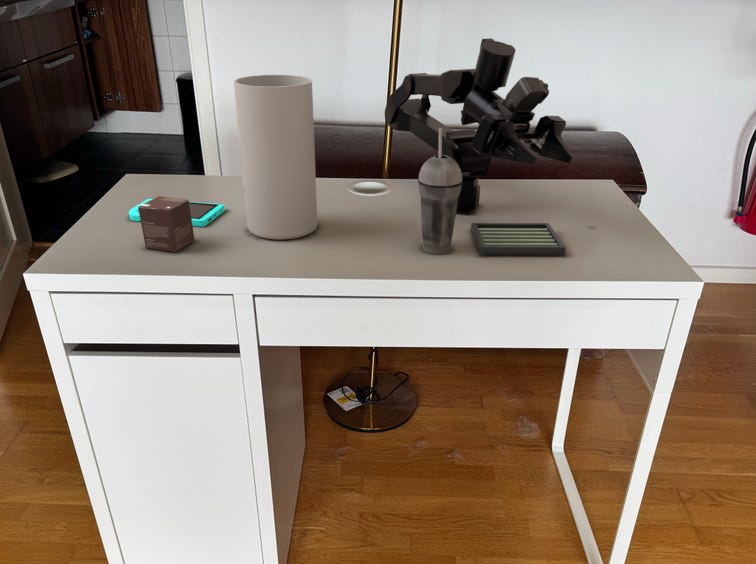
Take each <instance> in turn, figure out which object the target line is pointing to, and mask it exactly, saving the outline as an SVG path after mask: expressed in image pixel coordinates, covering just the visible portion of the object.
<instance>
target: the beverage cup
mask: <svg viewBox="0 0 756 564" xmlns="http://www.w3.org/2000/svg"><path fill="white" fill-rule="evenodd" d="M417 183H418V192H419V196H420V219H421V240H422V250H423V251H424V252H425V253H428V254H432V255H443V254H446V253H448V252H450V251H451V246H452V242H453V241H452V240H453V235H454V228H455V221H456V216H457V213H456V209H457V203H458V196H459V195H460V191H461V186H462V184H463V181H462V173H461V170H460V168H459V165H458V164H457V162H456V161H455V160H454V159H452V158H451V157H449V156H446V155H442V128H439V152H438V154H436V155H434V156H431V157H430V158H427V160H426V161H425V162H424V163H423V164H422V166H421V168H420V170H419V173H418V178H417Z"/></svg>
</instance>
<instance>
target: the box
mask: <svg viewBox="0 0 756 564" xmlns="http://www.w3.org/2000/svg"><path fill="white" fill-rule="evenodd" d="M151 199H152V200H150V201H148V202H146V203H144V204H142V205H140V206H139V207H138V210H139V216H140V220H141V221H140V225H141V230H142V235H143V240H144V241H143V242H144V246H145V249H150V250H159V251H167V252H173V253H178V251H180V250H182V249H184V248H185V247H187V246H188V245H190V244H191V243H193V242H194V241H195V240H196V239H195V234H194V226H193V225H192V219H191V212H190V206H189V202H190V200H189V199H185V198H178V197H177V198H176V197H169V196H160V195H158V196H156V197H154V198H151Z"/></svg>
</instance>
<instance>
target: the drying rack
mask: <svg viewBox="0 0 756 564" xmlns="http://www.w3.org/2000/svg"><path fill="white" fill-rule="evenodd" d="M470 225H471V226H470V232H471V235H472V237H473V240H474V243H475V245H476V248H477V250H478V253H479V256H480V257H565V255H566V249H567V247H566V245H565V243H563V240H561V239H560V237H559V235H558V233H556V231H555V230H554V228H553V226H552V225H551V224H550V223H549V222H471V224H470Z"/></svg>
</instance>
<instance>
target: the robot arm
mask: <svg viewBox="0 0 756 564" xmlns="http://www.w3.org/2000/svg"><path fill="white" fill-rule="evenodd" d="M515 55H516V48H515V46H513V45H511V44H508V43H506V42H502V41H498V40H495V39H493V38H492V37H491V38H490V37H489V38H481V41H480V46H479V53H478V56H477V61H476V64H475V68H464V69H450V70H447V71H444V72H442V73H441V74H434V73H433V74H431V73H430V74H429V73H427V72H417V73H408V74H407V75H405V76H404V77H403V81H402V82H401V84H400V85H399V86H398V87H397V88H396V89H395V90H394V91H393V92H392V93H391V94H390V96H389V98H388V100H387V102H386V106H385V108H384V119H385V122H386V124H387V125H388V127H389V128H390V129H392V130H394V131H398V132H407V133H408V132H409V133H411V134H413V135H414V136H416V137H417V138H419V139H420V140H421V141H423V142H424V143H425V144H427V146H430V148H432V149H433V150H435V151H436V152H438V153H439V128H442V155H446V156H449V157H451V158H452V159H454V160H455V161H456V162H457V164H458V165H459V168H460V170H461V173H462V181H463V184H462V186H461V191H460V195H459V196H458V203H457V209H456V214H462V215H463V214H464V215H470V214H472V213H473V212H474V211H475V210H476V209H477V208H478V207H479V205H480V198H481V197H480V196H481V185H480V184H479V178H486V176H487V174H488V171H489V167H490V164H491V162H492V158H496V159H504V160H508V161H514V162H519V163H523V164H529V165H534V164H535V163H536V161H537V156H539V157H543V158H547V159H552V160H556V161H559V162H563V163H567V164H571V163H572V161H573V159H574V156H573V155H572V153H571V151H570V150H569V148H568V146H567V145H566V143H565V141H564V139H563V137H562V134H563V131H564V129H565V127H566V126H567V121H566V120H565V119H563V118H562V117H561V116H559V115H544V116H542V117H539V120H538V122H537V124H536V126H535V128H531V123H530V122H531V121H533V119H534V118H535V116H536V113H535V112H533V111H534V110H535V109H536V107H538V105H541V104H542V103H543V102H544V101H545V100H546V99H547V98H548V96H549V95H550V89H549V83H545V82H544V81H543V80H542V79H540V78H539V77H534V76H533V77H532V76H523V77H521V78H520V79H518V80H517V82H516V83H515V84H513V86H512V87H511V89H510V90H509V91H508V93H507V94H506V95H505V98H503V97H502V96H501V95H499V94H498V93H497V92H496V91H498V90H499V89H500V88H505V87H507V82H508V80H509V75H510V73H511V68H512V66H513V62H514V58H515ZM416 95H419V96H420V95H421V98H419V97H418V98H410V97H411V96H416ZM429 96H435V97H436V96H437V97H440V99H441V101H443V102H445V103H447V104H450V105H457V104H458V105H459V104H463V106H462V110H461V109H460V114H461V117H460V123H461V125H462V126H467V125H472V124H476V123H477V124H478V126H477V128H476V130H475V129H472V128H470V129H460V130H453V129H452V128H450V127H449V126H447V125H445V124H444V123H442V122H441V121H439V120H437V119H436V118H435V117H433V116H431V115H430V114H429V111H430V109H431V107H432V104H431V101H430V97H429ZM527 144H529V147H528V146H527ZM529 148H530V149H529ZM531 150H532V151H533V152H532V151H531ZM534 153H537V156H536V155H535V154H534Z"/></svg>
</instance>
